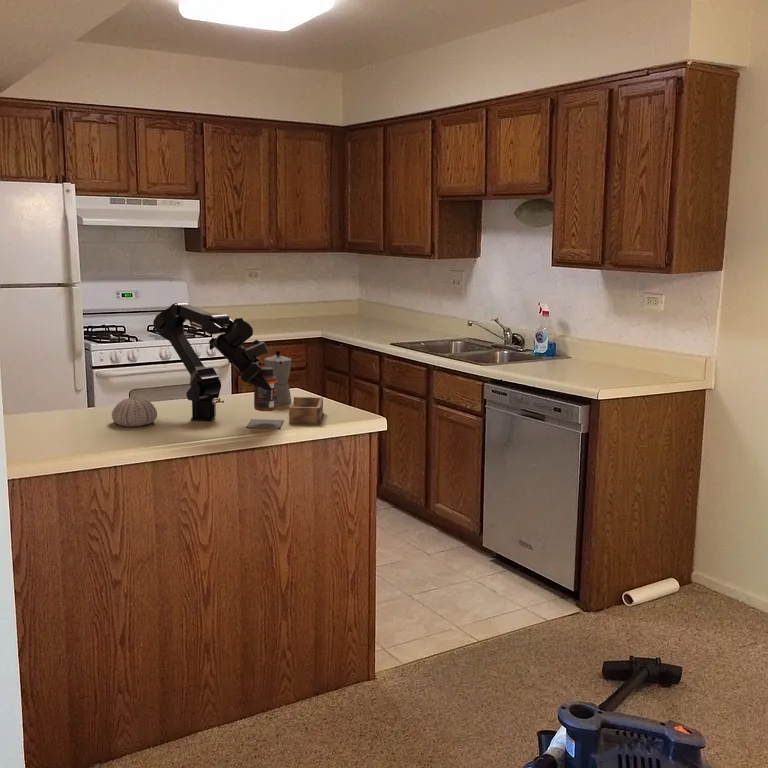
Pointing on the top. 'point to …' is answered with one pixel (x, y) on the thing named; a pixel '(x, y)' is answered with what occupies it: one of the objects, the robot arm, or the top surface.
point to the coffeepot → (280, 376)
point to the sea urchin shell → (134, 412)
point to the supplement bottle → (266, 392)
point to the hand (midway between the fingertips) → (270, 387)
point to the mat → (264, 423)
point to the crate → (306, 410)
